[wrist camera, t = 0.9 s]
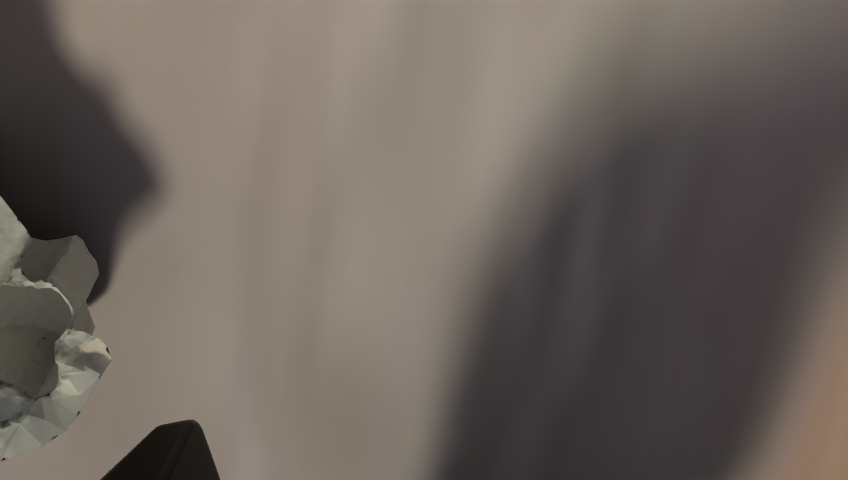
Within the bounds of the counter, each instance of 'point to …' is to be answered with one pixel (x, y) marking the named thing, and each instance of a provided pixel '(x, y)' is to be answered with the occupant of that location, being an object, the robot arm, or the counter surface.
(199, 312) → the counter surface
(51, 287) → the egg carton
